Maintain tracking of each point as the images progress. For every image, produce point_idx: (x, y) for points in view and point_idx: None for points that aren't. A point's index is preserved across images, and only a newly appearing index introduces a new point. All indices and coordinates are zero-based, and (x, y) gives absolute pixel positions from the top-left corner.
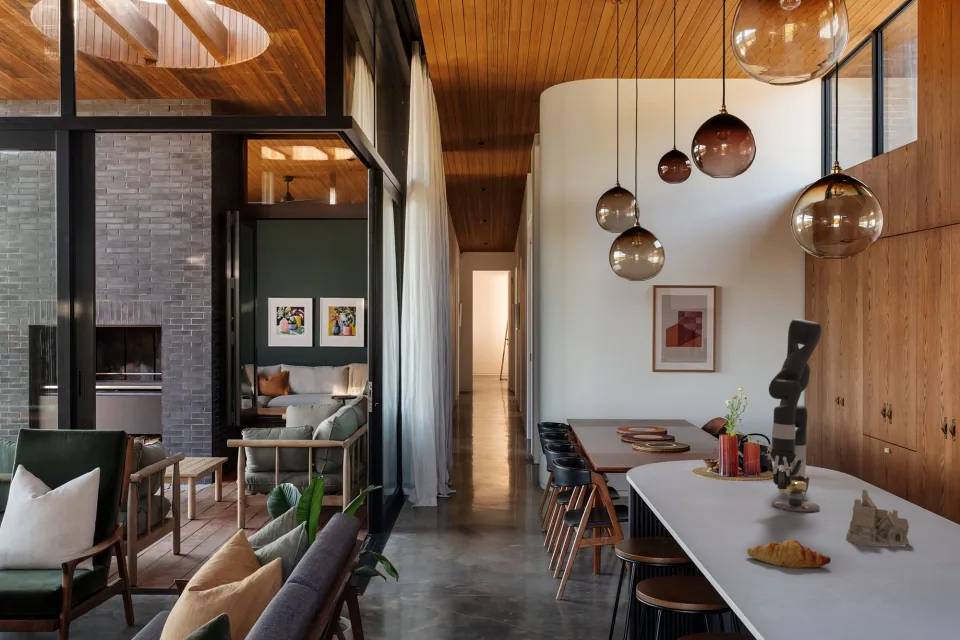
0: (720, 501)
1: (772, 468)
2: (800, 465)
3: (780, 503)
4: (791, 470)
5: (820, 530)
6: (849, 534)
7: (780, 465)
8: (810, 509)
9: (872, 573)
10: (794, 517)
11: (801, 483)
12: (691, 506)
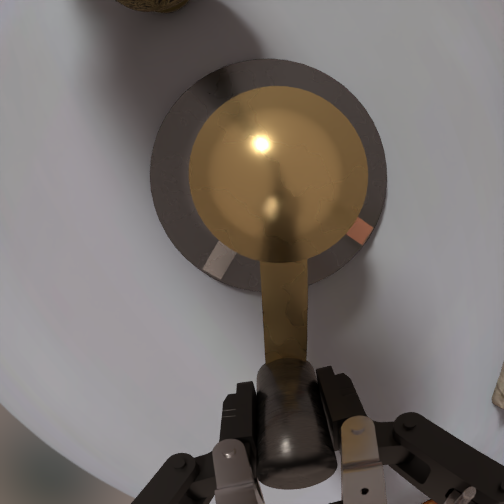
0: (60, 348)
1: (209, 492)
2: (476, 467)
3: (231, 259)
4: (376, 449)
5: (450, 397)
6: (502, 406)
7: (255, 493)
8: (376, 221)
9: (496, 460)
10: (360, 353)
11: (333, 168)
12: (95, 442)
